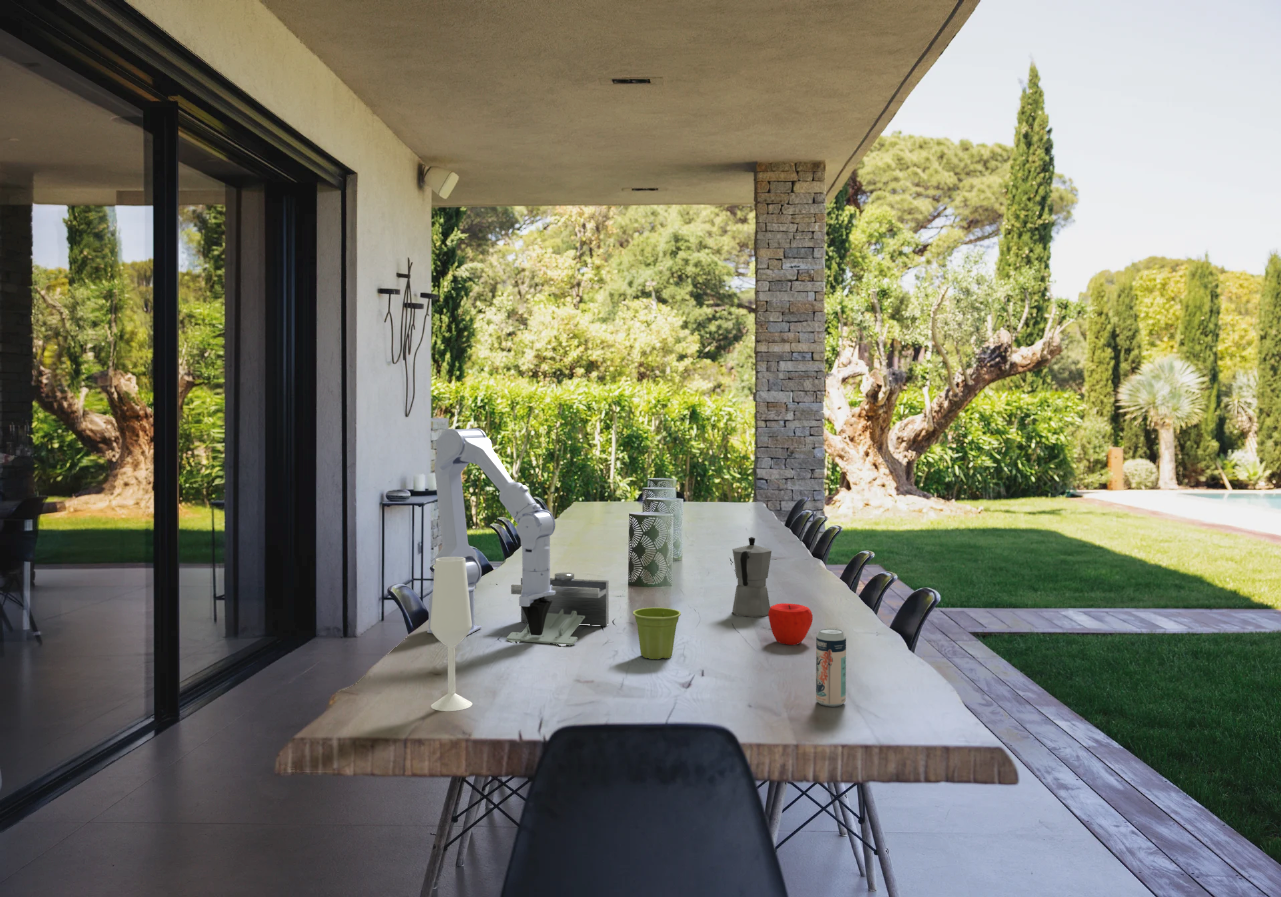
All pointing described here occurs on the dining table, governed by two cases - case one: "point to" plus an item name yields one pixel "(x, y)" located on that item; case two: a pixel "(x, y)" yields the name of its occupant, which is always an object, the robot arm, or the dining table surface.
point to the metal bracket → (552, 630)
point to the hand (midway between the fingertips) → (536, 634)
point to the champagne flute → (451, 620)
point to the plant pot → (656, 631)
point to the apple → (790, 622)
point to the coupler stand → (576, 598)
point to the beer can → (831, 667)
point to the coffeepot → (751, 580)
